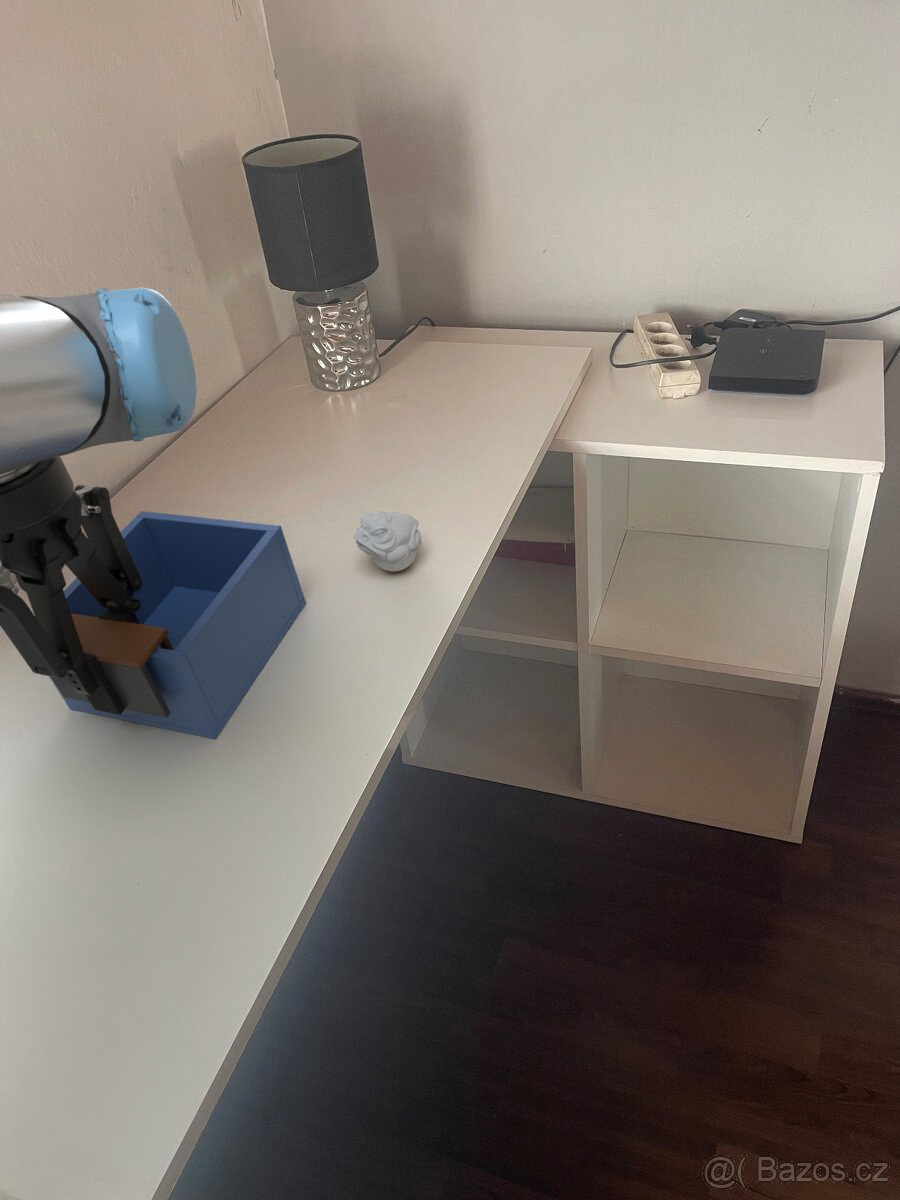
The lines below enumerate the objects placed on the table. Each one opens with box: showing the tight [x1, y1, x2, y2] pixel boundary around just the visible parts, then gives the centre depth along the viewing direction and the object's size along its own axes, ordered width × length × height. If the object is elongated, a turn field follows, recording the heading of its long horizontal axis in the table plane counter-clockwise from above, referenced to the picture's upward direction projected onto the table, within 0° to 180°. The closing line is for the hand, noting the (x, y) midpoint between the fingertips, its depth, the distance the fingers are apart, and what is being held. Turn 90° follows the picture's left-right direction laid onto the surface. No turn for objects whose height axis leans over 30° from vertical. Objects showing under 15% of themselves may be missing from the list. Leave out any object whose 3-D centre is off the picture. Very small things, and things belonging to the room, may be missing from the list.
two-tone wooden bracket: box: [49, 614, 174, 718], centre depth 73 cm, size 4×11×7 cm, turn 71°
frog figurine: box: [352, 510, 422, 572], centre depth 88 cm, size 6×7×7 cm
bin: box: [48, 510, 307, 740], centre depth 81 cm, size 18×16×10 cm
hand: (126, 688), depth 75 cm, fingers closed on two-tone wooden bracket, 4 cm apart
